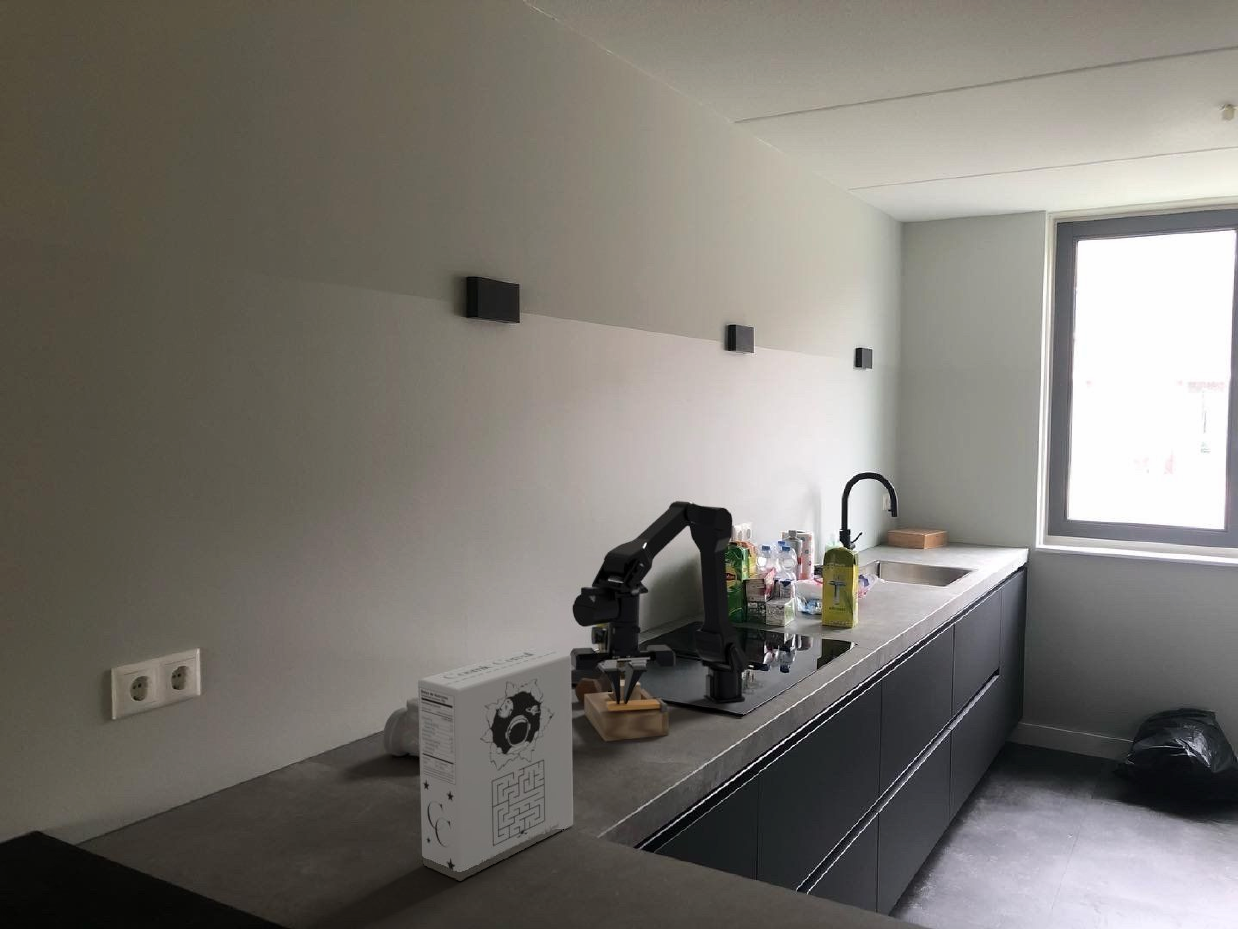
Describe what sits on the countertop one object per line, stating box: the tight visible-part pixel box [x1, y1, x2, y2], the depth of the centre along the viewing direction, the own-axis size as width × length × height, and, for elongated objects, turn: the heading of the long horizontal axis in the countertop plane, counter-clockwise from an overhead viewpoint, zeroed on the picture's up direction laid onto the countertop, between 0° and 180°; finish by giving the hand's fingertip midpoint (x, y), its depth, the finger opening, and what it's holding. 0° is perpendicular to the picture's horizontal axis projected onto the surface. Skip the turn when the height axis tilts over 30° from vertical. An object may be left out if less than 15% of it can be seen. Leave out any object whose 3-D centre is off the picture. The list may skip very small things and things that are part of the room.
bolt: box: [574, 671, 626, 705], centre depth 204 cm, size 6×5×15 cm
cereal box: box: [417, 646, 574, 872], centre depth 134 cm, size 22×8×25 cm, turn 141°
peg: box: [615, 680, 642, 701], centre depth 189 cm, size 4×4×7 cm
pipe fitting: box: [381, 697, 420, 758], centre depth 168 cm, size 12×8×10 cm
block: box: [583, 688, 670, 742], centre depth 185 cm, size 12×16×5 cm
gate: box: [606, 698, 665, 711], centre depth 181 cm, size 11×3×1 cm, turn 105°
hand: (621, 703), depth 180 cm, fingers closed on gate
